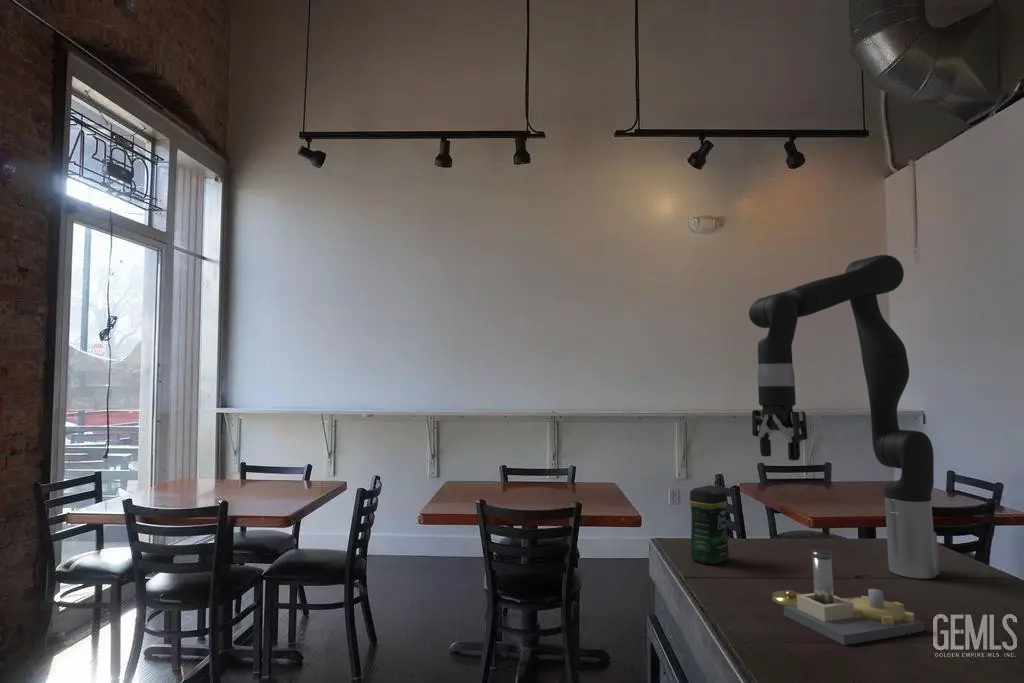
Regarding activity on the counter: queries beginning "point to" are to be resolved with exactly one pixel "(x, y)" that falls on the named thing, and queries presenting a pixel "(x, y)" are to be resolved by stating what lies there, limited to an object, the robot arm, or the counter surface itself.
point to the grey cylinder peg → (823, 576)
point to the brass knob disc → (785, 597)
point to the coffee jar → (709, 525)
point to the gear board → (854, 617)
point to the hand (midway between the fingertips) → (779, 458)
